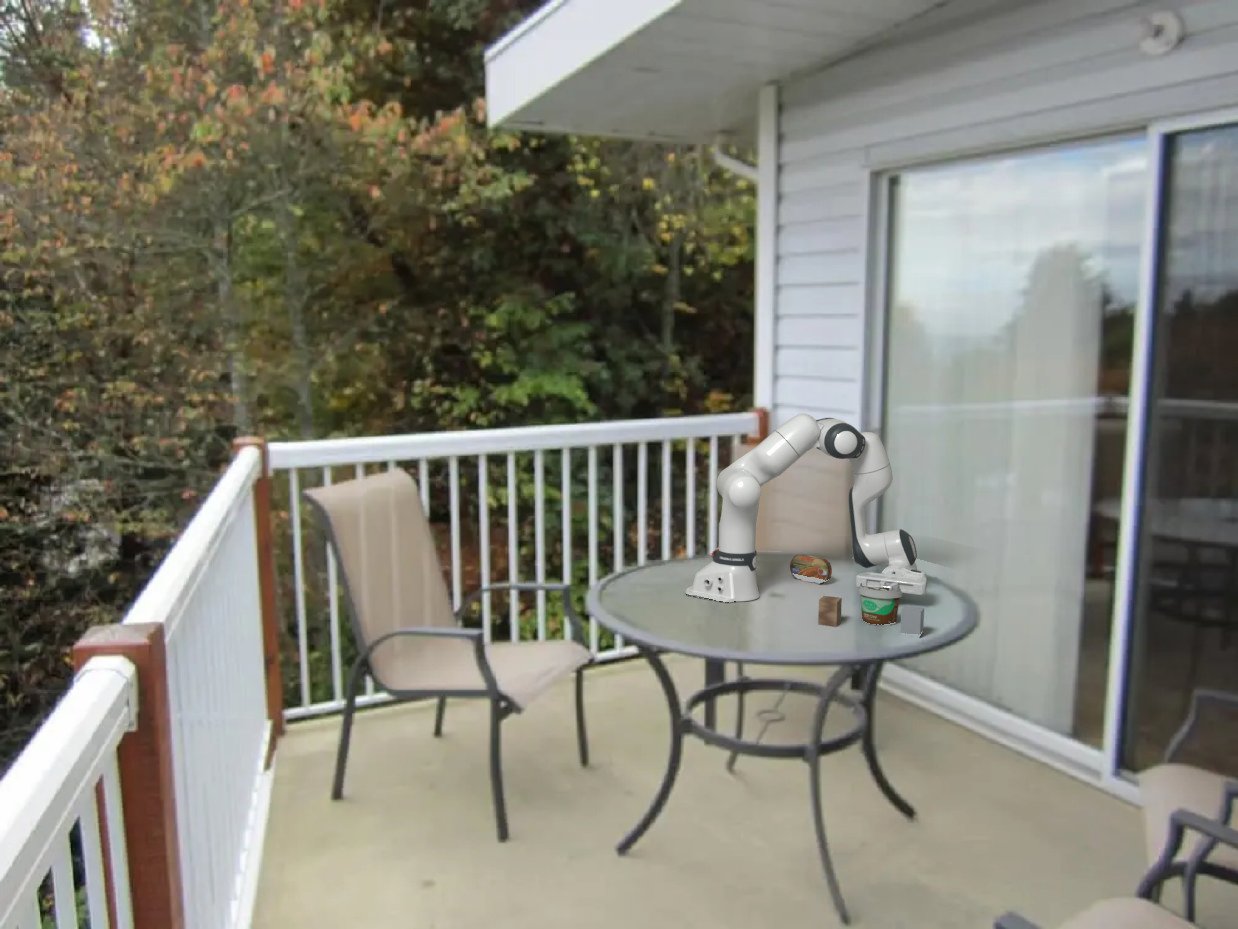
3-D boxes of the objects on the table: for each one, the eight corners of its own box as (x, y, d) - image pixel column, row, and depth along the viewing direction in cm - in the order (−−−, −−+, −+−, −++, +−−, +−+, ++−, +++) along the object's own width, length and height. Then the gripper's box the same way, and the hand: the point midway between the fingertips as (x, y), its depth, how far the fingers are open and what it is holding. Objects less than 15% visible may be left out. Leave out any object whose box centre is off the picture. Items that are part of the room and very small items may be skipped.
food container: (849, 622, 271) (850, 586, 270) (858, 617, 276) (859, 582, 275) (892, 629, 264) (894, 593, 263) (901, 624, 269) (902, 589, 268)
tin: (789, 578, 322) (789, 552, 321) (794, 576, 324) (795, 551, 323) (827, 586, 311) (827, 560, 310) (833, 585, 313) (833, 559, 312)
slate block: (900, 635, 259) (901, 609, 258) (903, 630, 263) (904, 605, 263) (919, 638, 257) (920, 612, 256) (923, 633, 261) (924, 607, 260)
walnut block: (818, 624, 269) (818, 599, 268) (823, 620, 273) (823, 595, 272) (836, 627, 267) (837, 602, 266) (840, 622, 271) (841, 597, 270)
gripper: (861, 565, 300) (850, 574, 287) (930, 573, 290) (922, 582, 278) (860, 585, 300) (849, 595, 288) (929, 593, 291) (921, 604, 279)
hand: (886, 589), depth 283 cm, fingers closed
